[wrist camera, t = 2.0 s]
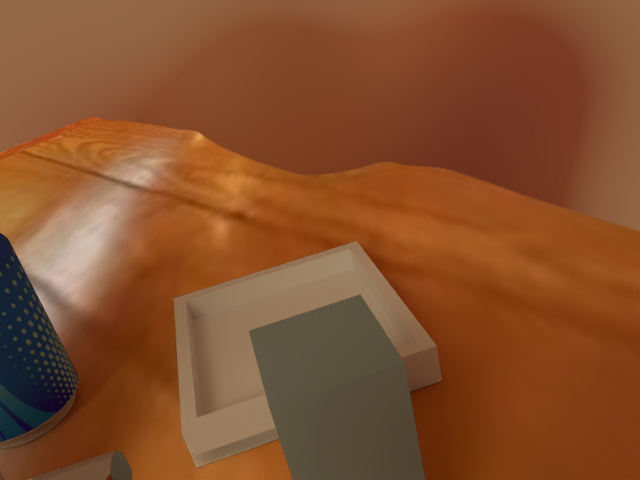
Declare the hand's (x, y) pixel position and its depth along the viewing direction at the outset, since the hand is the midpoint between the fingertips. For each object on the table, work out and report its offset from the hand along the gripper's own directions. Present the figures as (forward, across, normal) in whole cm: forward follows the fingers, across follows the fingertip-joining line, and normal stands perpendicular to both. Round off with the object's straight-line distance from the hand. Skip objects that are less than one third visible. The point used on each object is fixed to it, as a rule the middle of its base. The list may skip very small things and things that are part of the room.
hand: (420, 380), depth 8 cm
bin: (+31, 0, +22) cm, 38 cm away
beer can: (+34, +21, +22) cm, 46 cm away
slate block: (+12, 0, +22) cm, 25 cm away
